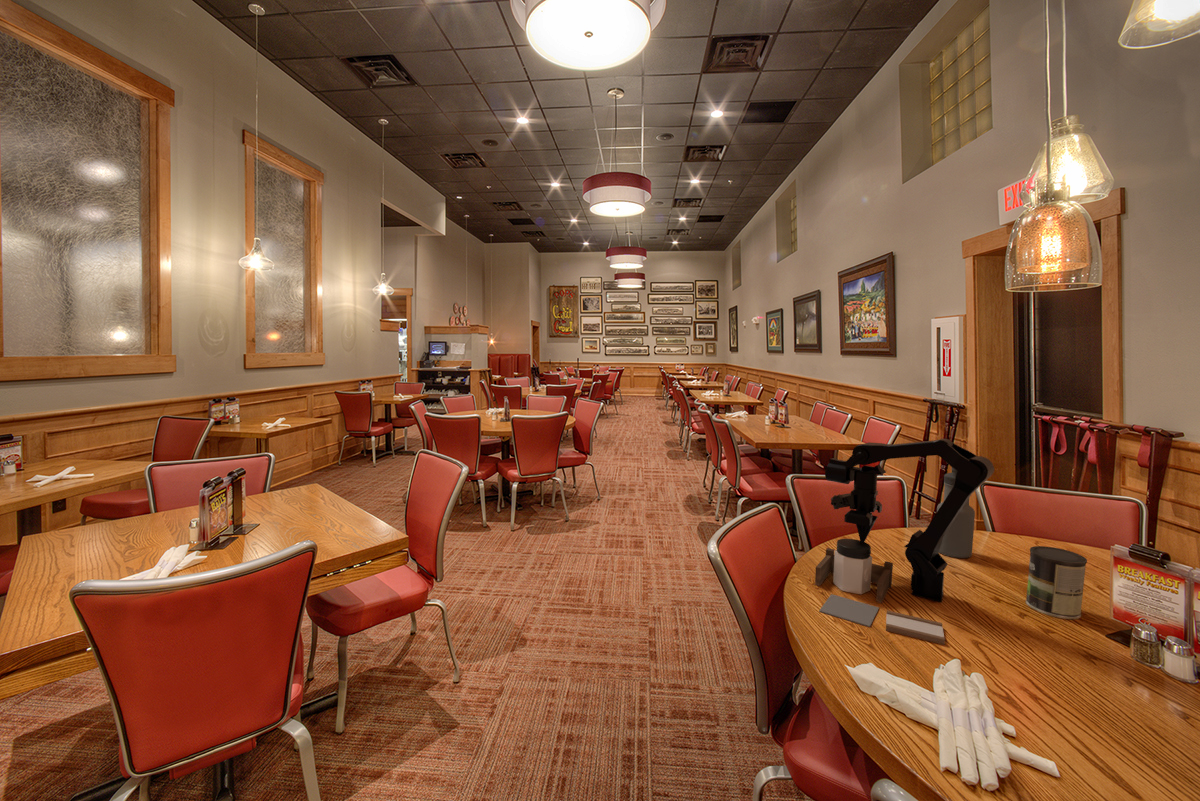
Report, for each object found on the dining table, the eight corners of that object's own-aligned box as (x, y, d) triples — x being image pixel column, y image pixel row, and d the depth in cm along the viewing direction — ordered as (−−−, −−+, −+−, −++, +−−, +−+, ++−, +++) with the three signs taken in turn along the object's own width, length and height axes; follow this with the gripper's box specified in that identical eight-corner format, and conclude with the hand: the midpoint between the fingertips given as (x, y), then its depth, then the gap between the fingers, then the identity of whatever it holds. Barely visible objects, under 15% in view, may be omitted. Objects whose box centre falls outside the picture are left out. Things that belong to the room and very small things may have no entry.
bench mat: (878, 608, 122) (878, 607, 122) (869, 627, 114) (869, 625, 114) (831, 595, 129) (831, 594, 129) (819, 611, 121) (819, 610, 121)
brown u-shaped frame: (891, 585, 135) (892, 562, 134) (882, 603, 125) (884, 579, 124) (826, 569, 145) (827, 547, 145) (813, 584, 135) (814, 561, 135)
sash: (941, 627, 114) (942, 622, 114) (944, 645, 107) (945, 639, 107) (886, 614, 119) (886, 610, 119) (885, 630, 113) (886, 625, 112)
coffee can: (1023, 608, 123) (1027, 553, 122) (1027, 594, 130) (1032, 542, 129) (1081, 624, 116) (1086, 566, 114) (1082, 609, 123) (1087, 554, 122)
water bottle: (934, 544, 165) (940, 461, 163) (971, 551, 160) (977, 465, 157) (933, 554, 157) (939, 467, 155) (972, 561, 151) (978, 471, 149)
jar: (857, 597, 128) (859, 552, 127) (827, 585, 135) (829, 542, 134) (875, 588, 133) (878, 545, 132) (846, 577, 140) (848, 536, 139)
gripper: (842, 477, 153) (840, 526, 154) (825, 489, 138) (823, 543, 139) (883, 482, 146) (880, 534, 147) (870, 496, 131) (867, 553, 133)
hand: (862, 541), depth 142 cm, fingers closed
